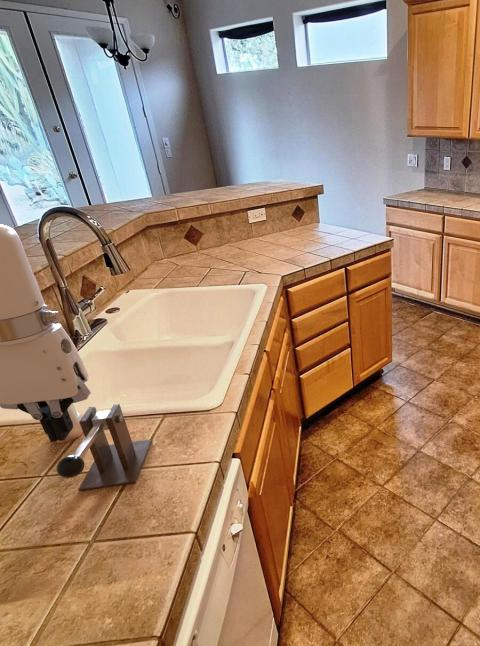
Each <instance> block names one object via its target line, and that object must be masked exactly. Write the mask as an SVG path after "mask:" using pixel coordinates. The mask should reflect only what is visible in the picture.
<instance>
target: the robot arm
mask: <svg viewBox="0 0 480 646" xmlns="http://www.w3.org/2000/svg"><path fill="white" fill-rule="evenodd" d="M33 271H34V270H33V268H32V266H31V263H30V261H29V258H28V256H27V253H26V251H25V247H24V245H23V243H22V239H21V238H20V236H19V234H18V233H17V232H16V230H15V229H14V228H12V227H10V226H8V225H4V224H0V408H1V409H3V410H19V411H21V412H24V413H26V414H28V415H30V416H31V417H32V419H33V420H35V421H39V424H40V426H41V427H42V430H43V432H44V434H45V435H46V434H47V435H48V437H49V438H48V437H47V438H48V440H49V439H50V440H49V441H50V443H55V441H57V440H59V441H63V440H65V439H66V437H67V436H68V434H69V433H70V431H71V430H72V429H73V423H72V420H71V418H70V415H69V413H68V410H67V409H68V407H69V406H70V405H71V404H72V403H73V404H76V403H79V402H83V401H85V400H88V398H89V397H90V395H91V394H92V392H91V390H90V389H89V387H88V386H87V385H86V382H88V381H89V374H88V370H87V368H86V365H85V363H84V361H83V359H82V357H81V355H80V353H79V351H78V349H77V347H76V345H75V344H74V343H73V340H72V339H71V337H70V336H69V334H68V333H67V331H66V330H65V328H64V327H63V326H62V324H61V323H57V322H61V320H62V315H61V313H60V311H53V310H50V309H49V306H48V304H46V301H45V299H44V297H43V294H42V292H41V289H40V287H39V285H38V281H37V279H36V276H35V274H34V272H33ZM48 400H49V401H48Z"/></svg>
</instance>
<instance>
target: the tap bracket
mask: <svg viewBox="0 0 480 646" xmlns="http://www.w3.org/2000/svg"><path fill="white" fill-rule="evenodd" d="M97 412H98V411H97V408H96V406H89V407H88V408H87V410H86V411H85V412H84V414H83V415H82V416H81V417H82V418H81V420H80V421H79V423H80V425H81V428H82V430H83V433H82V434H83V435H84V438H85V437H86V436H87V435H88V433H89V432H90V431H91V429H92V428H93V424H92V421H91V420H92V418H93V417H94V416H95V414H96V413H97ZM105 419H106V422H107V425H108V428H109V430H108V431H109V433H110V436H111V439H112V442H113V443H112V444H111V443H110V444H109V441H108V439H107V436H106V433H105V430H101V432H100V433H99V435H98V436H97V438H96V439H95V441H94V442H93V444H92V445H91V447H90V448H89V450H90V453H91V456H92V458H93V462H92V464H91V466H90V467H89V470H88V472H87V473H86V475H85V476H84V479H83V480H82V482H81V483H80V485H79V488H78V489H77V490H78V492H79V493H82V492H88V491H94V490H101V489H108V488H114V487H115V488H116V487H121V486H128V485H135V484H136V483H137V481H138V479H139V477H140V473H141V471H142V470H143V469H142V468H143V466H144V464H145V462H146V459H147V456H148V454H149V453H150V450H151V447H152V444H153V442H154V441H153V438H149V439H142V440H135V441H133V440H132V438H131V435H130V432H129V429H128V428H129V427H128V426H127V423H126V420H125V416H124V413H123V411H122V407H121V404H120V403H117V404H113V405H112V406H111V408H110V412H109V413H108V415H107V417H106V418H105Z"/></svg>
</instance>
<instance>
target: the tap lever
mask: <svg viewBox="0 0 480 646" xmlns="http://www.w3.org/2000/svg"><path fill="white" fill-rule="evenodd" d="M110 410H111V409H110ZM110 410H109V409H108V410H103V411H97V413H96V414H95V416H94V417H93V418H92V420H91V421H92V424H93V428H92V429H91V431H90V432H89V433H88V435H87V436H86V437H85V436H84V438H83V440H82V441H81V443H80V444H79V446H78V447H77V449H76V450H75V451H74V453H73V454H70V455H66V456H64V457H62V458H61V459H60V460H59V461H58V463H57V465H56V473H57V474H58V475H59V476H60V477H62V478H64V479H72V478H75V477H78V476H79V475H81V474H82V472H83V471H84V468H85V461H84V459H83V458H84V457H85V455H86V454H87V453H88V451H89V450H90V447H91V445H92V444H93V442H94V441H95V439H96V438H97V436H98V435H99V433H100V432H101V430H104V431H107V430H108V431H109V428H108V425H107V422H106V419H105V418H106V417H107V415H108V413H109V412H110Z"/></svg>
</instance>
